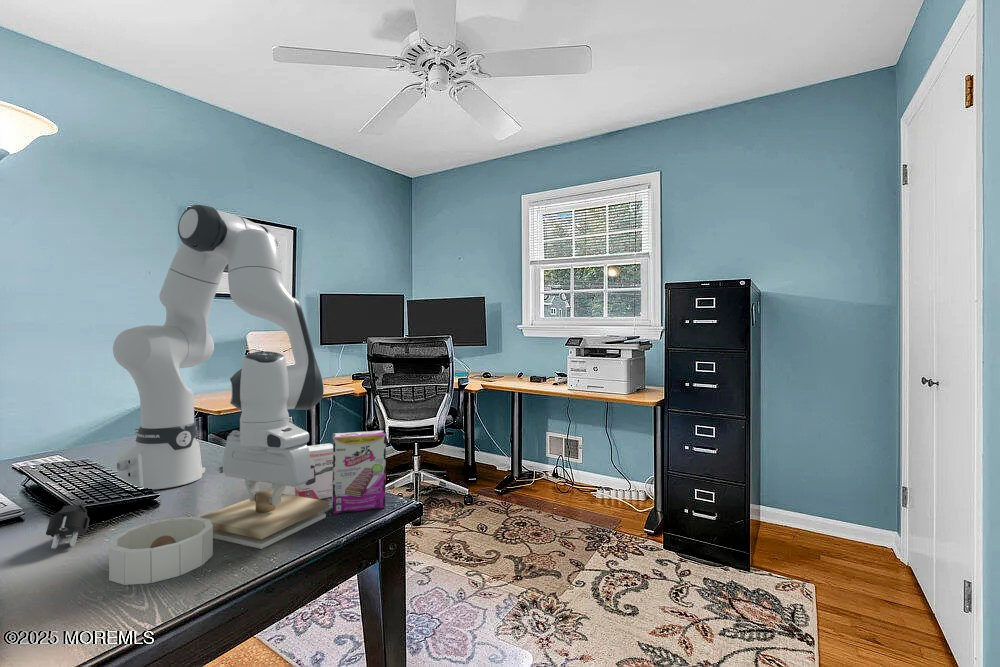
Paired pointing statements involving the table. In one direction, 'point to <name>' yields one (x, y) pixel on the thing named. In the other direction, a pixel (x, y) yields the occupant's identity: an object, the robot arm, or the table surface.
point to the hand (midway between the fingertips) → (265, 502)
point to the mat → (271, 538)
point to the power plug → (68, 524)
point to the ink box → (318, 473)
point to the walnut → (162, 541)
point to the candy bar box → (358, 471)
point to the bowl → (160, 550)
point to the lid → (264, 514)
